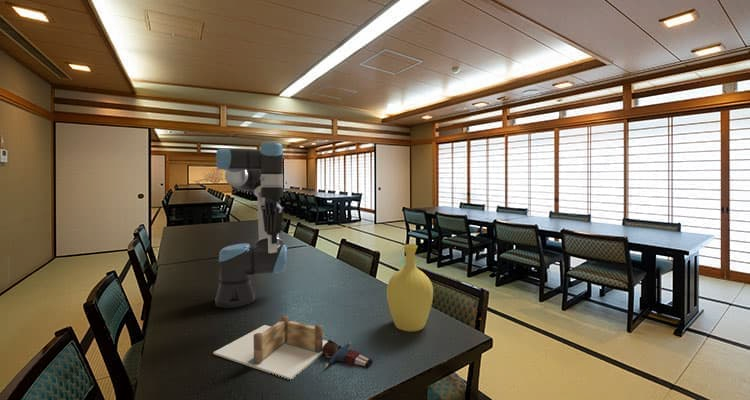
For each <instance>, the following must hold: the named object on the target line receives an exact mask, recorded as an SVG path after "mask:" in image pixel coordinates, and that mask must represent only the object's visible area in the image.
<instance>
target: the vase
mask: <svg viewBox="0 0 750 400" xmlns="http://www.w3.org/2000/svg"><path fill="white" fill-rule="evenodd" d="M402 247H403V249H404V252H405V263H404V266H403V267H402V268H401V269H399V270H397V271H396V272H395V273H393V275H392V276H391V277H390V279H389V281H388V284H387V287H386V299H387V304H388V309H389V311H390V315H391V318H392V321H393V323H394V326H395V327H396V328H397V329H399V330H401V331H404V332H418V331H421V330H423V329H424V328H425V326H426V323H427V321H428V318H429V315H430V312H431V309H432V305H433V299H434V287H433V284H432V281H431V280H430V278H429V277H428V276H427V275H426V273H424V272H423V271H422V270H420V269H419V268H418V267H417V266H416V261H415V255H416V252H417V249H418V247H419V246H418V245H417V244H413V243H412V244H411V243H407V244H403V246H402Z"/></svg>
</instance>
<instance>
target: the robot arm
mask: <svg viewBox="0 0 750 400" xmlns="http://www.w3.org/2000/svg"><path fill="white" fill-rule="evenodd" d="M259 148H260V149H259V150H258V149H240V148H239V149H238V148H237V149H236V148H219V149H217V150H216V154H215V155H216V156H215V162H216V168H217V169H218V170H223V171H225V175H224V179H225V180H226V182H227V184H228V185H229V186H230V187H232V188H234V189H235V190H236V189H237V190H239V191H243V192H253V195H254V196H255V197H257V220H258V221H257V225H258V228H257V229H258V240H257V241H255V243H254V245H255V246H251V245H250V243H247V242H245V243H237V244H230V245H228V246H225V247H223V248H221V250H220V251H219V254H218V264H219V286H218V289H217V292H216V296H215V298H214V305H215V306H216V307H218V308H222V309H232V308H233V309H234V308H239V307H245V306H247V304H248V305H249V304H252V303H253V302H255V300H256V293H255V291H254V287H253V285H252V281H251V276H257V275H266V274H267V275H268V274H269V275H270V274H279V273H282V272H284V271H285V269H286V264H287V255H288V245H287V244H284V241H283V239H281V238H280V235H279V234H281V230H282V222H283V216H284V214H283V213H284V211H285V207H284V206H281V201H280V198H283V197H284V187H283V186H284V172H283V171H284V170H283V168H284V164H283V163H284V150H283V144H282V143H280V142H274V141H266V142H265V141H263V142H262V143H260V147H259ZM251 302H252V303H251Z"/></svg>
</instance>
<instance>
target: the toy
mask: <svg viewBox="0 0 750 400" xmlns="http://www.w3.org/2000/svg"><path fill="white" fill-rule="evenodd" d="M326 341H327V343H325V345H324V346H323V348H322V353H323V354H322V355H323V356H324V357H325V358H329V359H330V360H329V361H327V363H326V364H325V367H326V368H328V366H329V365H331V364H333V363H335V362H337V361H338V362H343V363H345V364H348V365H352V366H355V365H358V366H364V367H366V368H367V369H369V368H370V367H371V365H372V364H373V363H374V361H373V359H371V358H368V357H366V356H364V355H362V354H361V352H360V351H356V350H354V349H353V350H352V349H348V348H349V347H350V346H351V344H352V342H351V341H350V342H349V343H347V344H345V345H344V346H342V345H339V344H337V342H335V341H334V340H331V339H327V340H326Z"/></svg>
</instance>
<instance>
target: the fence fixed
mask: <svg viewBox="0 0 750 400" xmlns="http://www.w3.org/2000/svg"><path fill="white" fill-rule="evenodd" d="M323 327H324V326H323V324H315V325H309V324H306V323H302V322H297V321H294V320H293V321H292V320H290V321H289V320H288V343H289V344H293V345H296V346H300V347H303V348H307V349H311V350H314V351H316V352H321V351H322V348H323V340H324V339H323V338H324V337H323V336H324V333H323V329H324V328H323Z"/></svg>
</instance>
